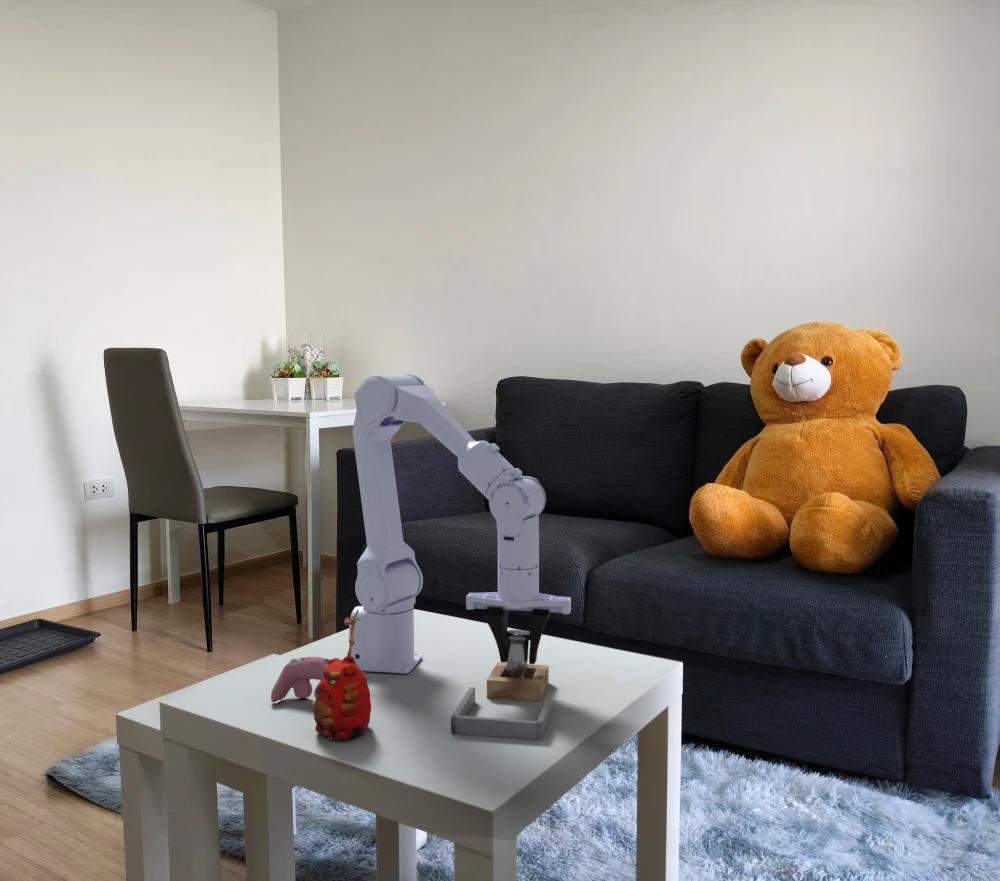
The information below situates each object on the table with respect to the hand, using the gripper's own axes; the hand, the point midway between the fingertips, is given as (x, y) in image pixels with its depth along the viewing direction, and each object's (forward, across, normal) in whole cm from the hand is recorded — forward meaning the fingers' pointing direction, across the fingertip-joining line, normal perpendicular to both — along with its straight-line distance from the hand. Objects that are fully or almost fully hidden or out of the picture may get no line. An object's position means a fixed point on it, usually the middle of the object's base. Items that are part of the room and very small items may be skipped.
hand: (518, 661), depth 126 cm
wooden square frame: (+4, 0, 0) cm, 4 cm away
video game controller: (+4, -27, -9) cm, 29 cm away
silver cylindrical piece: (+3, 0, 0) cm, 3 cm away
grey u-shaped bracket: (+4, 0, -10) cm, 11 cm away
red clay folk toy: (+4, -19, -18) cm, 27 cm away
